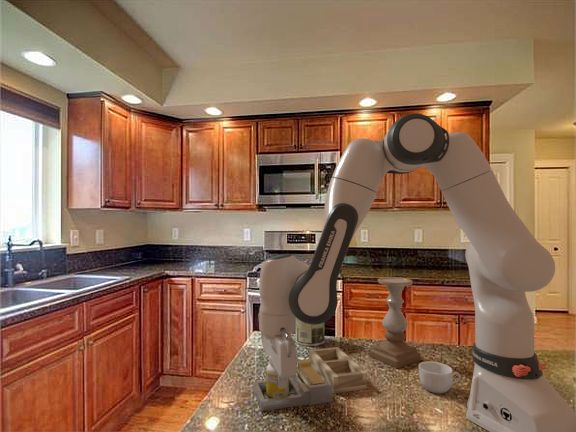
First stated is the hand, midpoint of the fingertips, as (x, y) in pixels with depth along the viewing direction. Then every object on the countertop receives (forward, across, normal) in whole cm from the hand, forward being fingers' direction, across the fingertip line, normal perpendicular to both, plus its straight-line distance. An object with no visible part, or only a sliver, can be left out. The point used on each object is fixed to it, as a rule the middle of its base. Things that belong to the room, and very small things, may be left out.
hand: (277, 380), depth 84 cm
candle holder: (+4, +13, -40) cm, 42 cm away
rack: (+4, +7, -18) cm, 20 cm away
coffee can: (+4, +34, -20) cm, 40 cm away
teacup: (+4, -7, -40) cm, 41 cm away
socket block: (+4, +5, -3) cm, 7 cm away
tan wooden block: (+4, +2, -9) cm, 10 cm away
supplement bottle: (+4, 0, 0) cm, 4 cm away
